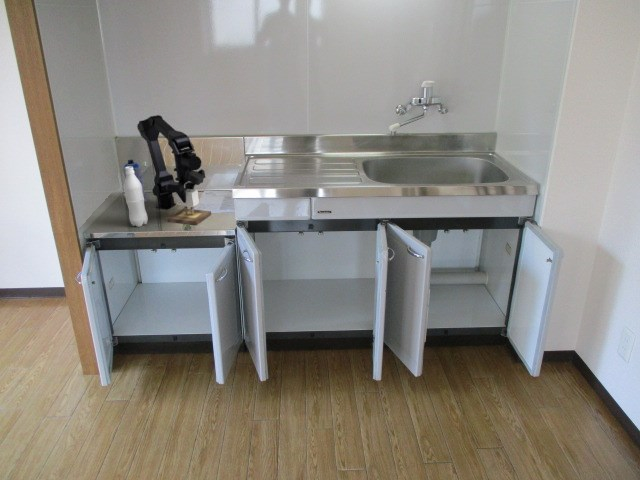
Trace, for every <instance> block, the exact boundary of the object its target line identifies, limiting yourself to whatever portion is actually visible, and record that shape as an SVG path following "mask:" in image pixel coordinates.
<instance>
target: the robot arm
mask: <svg viewBox="0 0 640 480" xmlns="http://www.w3.org/2000/svg"><path fill="white" fill-rule="evenodd" d="M136 125H137V126H136V127H137V130H138V132H139V134H140V137H141V138H143V139H144V140H145V142H146V145H147V147H148V151H149V154H150V157H151V161H152V165H153V168H154V171H155V176H154V180H153V181H154V185H153V187H152V190H151V191H152V195H153V196H155V197H156V199H157V206H156V209H163V210H170V209H171V208H173V207H175V206H176V205H177V202H176V203H175V197H174V196H173V195H174V194H176V193H177V194H178V196H179V197H180V198H181V200H182V201H183V203H186V190H187V189H194V190H195V186H200V184H202V183H204V179H205V178H206V172H205V170H204V169H202V168H201V167H202V159H201V158H200V157H199V156H198V155H197V153H196V152H195V151H196V150H195V146H194V144H193V143H192V141H191V139H190V137H189V136H188V135H187V134H186V133H185V132H183V131H179V130H175V128H174V127H172V126H171V125H170V124H169V123H167V121H166V120H165V119H164V118H163V116H162V115H161V114H160V115H159V114H156V115H151V116H149V117H147V118H145V119H144V120H143V119H142V120H139V121H138V123H137V124H136ZM160 134H161V135H162V136H163V137H164V138H165V139H167V145H168V146H169V147H170V149H171V150H172V151H171V153H172V154H173V157H174V164H175V167H174V168H173V171H174V172H176V177H175V178H174V175H173V174H171V173H169V172H168V170H167V166H166V163H165V160H164V155H163V153H162V149H161V145H160V142H159V136H160ZM200 168H201V169H200ZM174 179H175V180H174Z"/></svg>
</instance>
